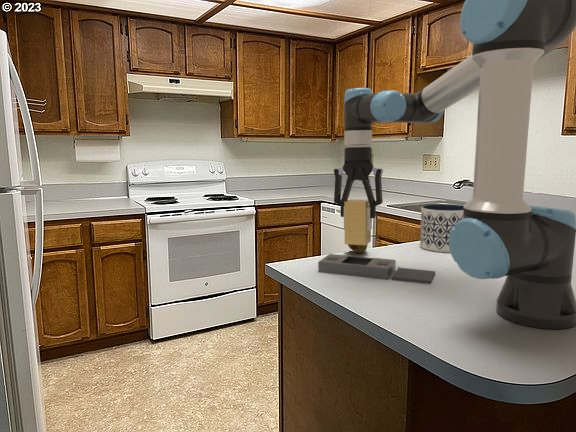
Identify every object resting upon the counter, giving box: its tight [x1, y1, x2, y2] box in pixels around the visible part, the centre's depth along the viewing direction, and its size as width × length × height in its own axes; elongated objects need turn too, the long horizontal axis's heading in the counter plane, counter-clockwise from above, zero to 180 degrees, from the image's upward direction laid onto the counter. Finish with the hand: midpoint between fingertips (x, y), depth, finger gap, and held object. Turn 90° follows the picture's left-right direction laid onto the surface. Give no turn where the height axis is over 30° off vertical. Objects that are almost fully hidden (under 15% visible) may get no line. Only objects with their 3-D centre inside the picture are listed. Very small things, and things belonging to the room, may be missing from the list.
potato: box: [346, 243, 369, 254], centre depth 150 cm, size 8×13×8 cm, turn 155°
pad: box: [391, 267, 436, 285], centre depth 123 cm, size 10×10×1 cm
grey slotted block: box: [317, 253, 397, 280], centre depth 129 cm, size 20×10×3 cm, turn 65°
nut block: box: [344, 198, 372, 246], centre depth 127 cm, size 6×6×12 cm
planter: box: [419, 203, 464, 254], centre depth 155 cm, size 16×16×14 cm
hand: (357, 228), depth 128 cm, fingers closed on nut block, 6 cm apart
